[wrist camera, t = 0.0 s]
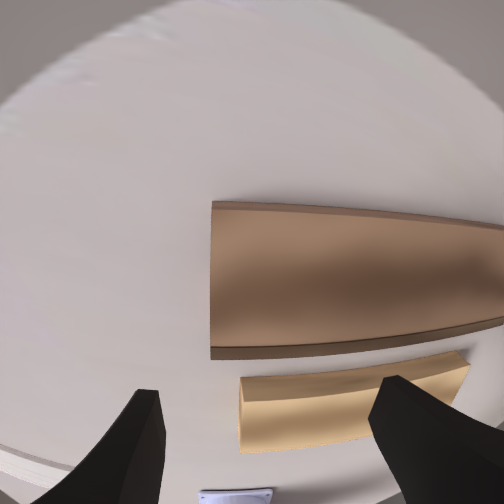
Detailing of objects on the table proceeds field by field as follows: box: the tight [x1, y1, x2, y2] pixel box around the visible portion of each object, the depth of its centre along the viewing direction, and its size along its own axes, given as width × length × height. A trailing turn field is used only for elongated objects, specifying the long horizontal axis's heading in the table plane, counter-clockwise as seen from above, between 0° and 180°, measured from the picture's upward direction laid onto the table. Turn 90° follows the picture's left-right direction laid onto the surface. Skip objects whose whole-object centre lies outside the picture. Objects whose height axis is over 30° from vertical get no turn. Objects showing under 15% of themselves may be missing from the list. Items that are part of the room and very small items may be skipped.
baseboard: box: [0, 444, 75, 489], centre depth 21 cm, size 30×3×10 cm
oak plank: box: [238, 351, 471, 453], centre depth 21 cm, size 6×20×3 cm, turn 86°
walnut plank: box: [210, 201, 504, 360], centre depth 18 cm, size 8×24×3 cm, turn 87°
